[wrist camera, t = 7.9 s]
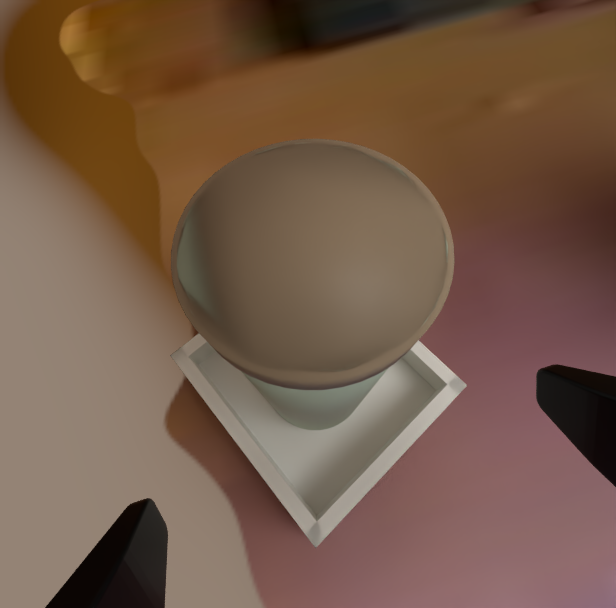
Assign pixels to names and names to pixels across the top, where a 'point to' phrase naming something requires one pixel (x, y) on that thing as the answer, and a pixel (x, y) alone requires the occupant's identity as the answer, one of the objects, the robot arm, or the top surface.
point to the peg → (312, 271)
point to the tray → (323, 431)
